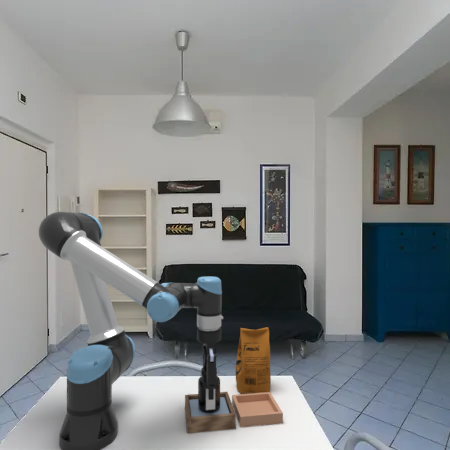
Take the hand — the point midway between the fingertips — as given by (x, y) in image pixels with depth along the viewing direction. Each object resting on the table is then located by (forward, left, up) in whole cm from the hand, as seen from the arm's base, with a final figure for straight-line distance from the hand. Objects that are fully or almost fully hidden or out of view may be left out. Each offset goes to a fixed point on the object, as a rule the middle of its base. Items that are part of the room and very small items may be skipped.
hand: (208, 402), depth 103 cm
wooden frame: (0, 0, -5) cm, 5 cm away
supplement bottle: (0, 0, -2) cm, 2 cm away
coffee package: (+18, +16, -5) cm, 25 cm away
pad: (0, 0, -3) cm, 3 cm away
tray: (+15, 0, -5) cm, 16 cm away
